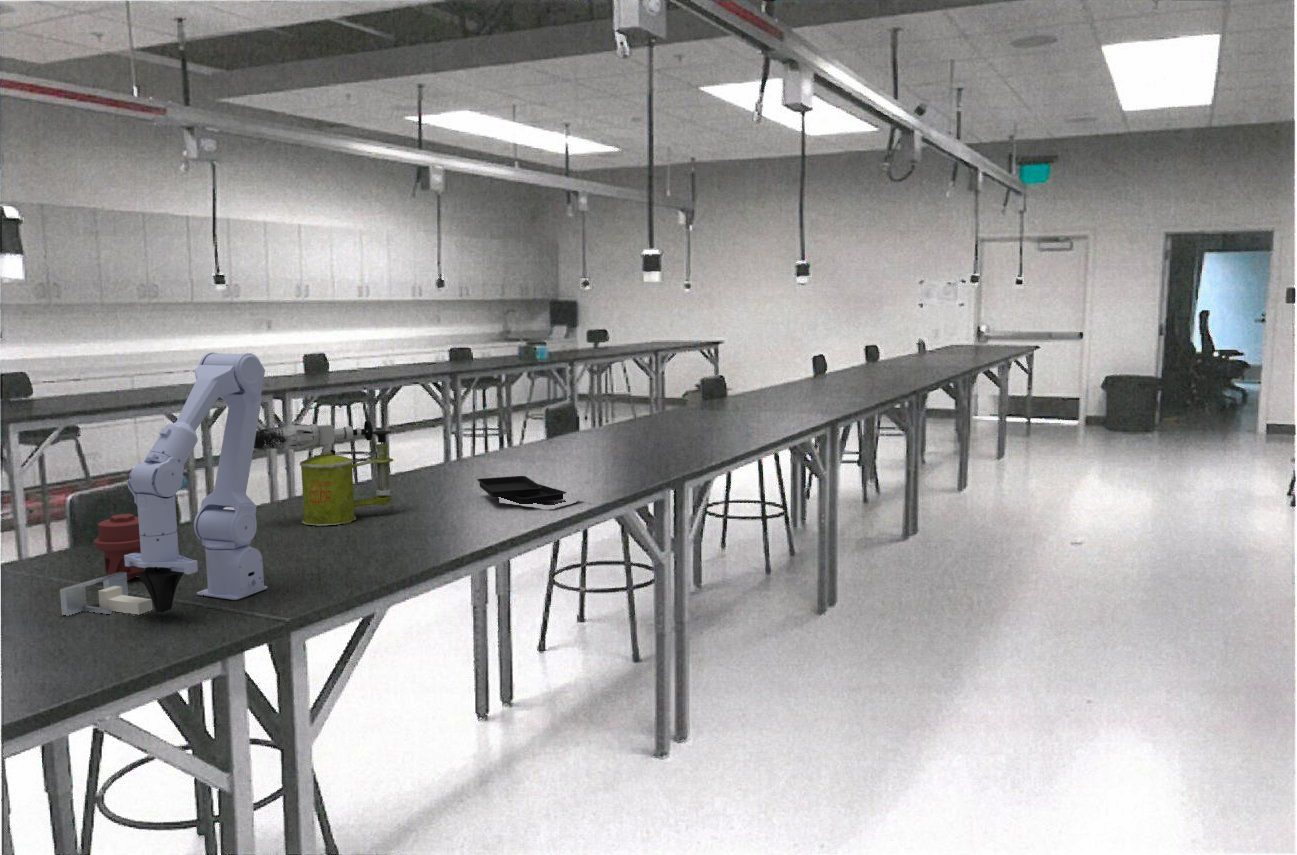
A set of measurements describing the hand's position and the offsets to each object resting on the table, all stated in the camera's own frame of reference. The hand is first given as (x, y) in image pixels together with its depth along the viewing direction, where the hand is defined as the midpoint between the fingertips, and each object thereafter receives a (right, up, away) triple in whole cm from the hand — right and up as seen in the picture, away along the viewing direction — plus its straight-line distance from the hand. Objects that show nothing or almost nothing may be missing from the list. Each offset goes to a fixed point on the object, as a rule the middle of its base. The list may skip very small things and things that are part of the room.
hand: (163, 610), depth 167 cm
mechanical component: (-19, +2, +24) cm, 30 cm away
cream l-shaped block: (-9, -1, +4) cm, 9 cm away
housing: (-12, 0, +5) cm, 13 cm away
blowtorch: (+4, +8, +73) cm, 74 cm away
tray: (+49, +11, +94) cm, 107 cm away
